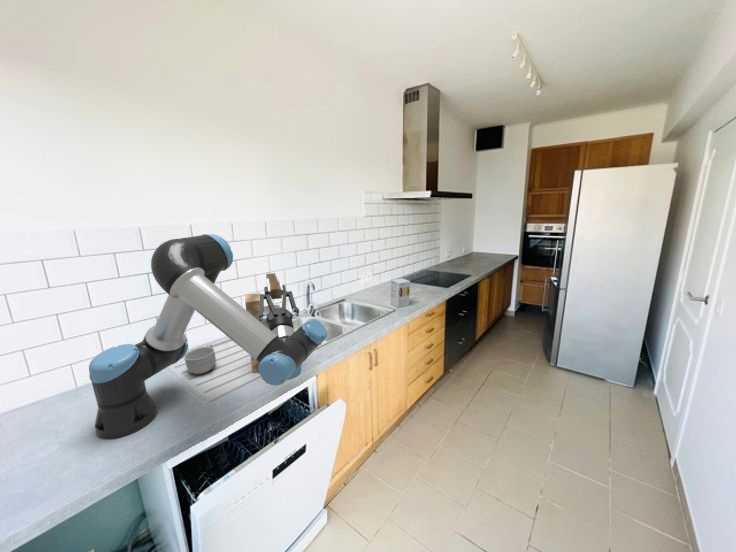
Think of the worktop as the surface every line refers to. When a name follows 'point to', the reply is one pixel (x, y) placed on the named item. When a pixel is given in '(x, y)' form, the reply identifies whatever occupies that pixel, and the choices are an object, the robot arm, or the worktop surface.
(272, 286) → the rail
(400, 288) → the supplement box
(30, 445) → the worktop surface
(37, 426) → the worktop surface
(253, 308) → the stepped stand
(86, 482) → the worktop surface
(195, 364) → the teacup
